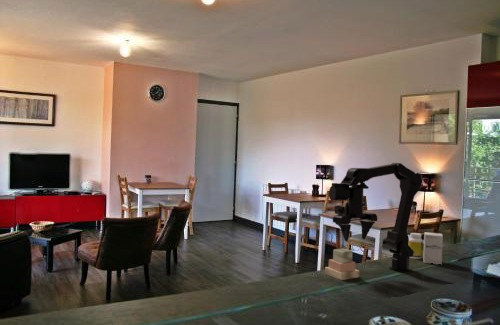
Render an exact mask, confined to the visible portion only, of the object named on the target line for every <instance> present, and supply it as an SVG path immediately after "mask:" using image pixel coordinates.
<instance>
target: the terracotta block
mask: <svg viewBox="0 0 500 325" xmlns="http://www.w3.org/2000/svg"><path fill="white" fill-rule="evenodd" d="M328 267H329V268H331V269H333V270H336V271H338V272H346V271H355V269H356V262H355V261H353V260H352V262H346V263H341V262H337V261H334V260H333V258H332V259H331V258H330V259H328Z"/></svg>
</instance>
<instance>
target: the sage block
mask: <svg viewBox="0 0 500 325" xmlns="http://www.w3.org/2000/svg"><path fill="white" fill-rule="evenodd" d="M332 259H333V260H334V261H337V262H341V263H346V262H352V261H353V250H350V249H346V248H335V249H333V252H332Z"/></svg>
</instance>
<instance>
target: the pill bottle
mask: <svg viewBox="0 0 500 325" xmlns="http://www.w3.org/2000/svg"><path fill="white" fill-rule="evenodd" d="M409 236H410V237H409V244H408V245H409V246H410V248H411V249H412V250H413V251H414V254H413V257H409V259H413V260H421V258H422V259H423V254H424V239H422V233H418V232H410V235H409Z"/></svg>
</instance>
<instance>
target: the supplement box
mask: <svg viewBox="0 0 500 325" xmlns="http://www.w3.org/2000/svg"><path fill="white" fill-rule="evenodd" d="M443 239H444V236H443V233H437V232H429V231H428V232H426V231H425V232H424V236H423V254H422V261H423V263H424V264H431V263H433V265H438V264H441V265H442V262H443V261H442V260H443V242H444V240H443ZM441 265H440V266H441Z"/></svg>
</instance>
